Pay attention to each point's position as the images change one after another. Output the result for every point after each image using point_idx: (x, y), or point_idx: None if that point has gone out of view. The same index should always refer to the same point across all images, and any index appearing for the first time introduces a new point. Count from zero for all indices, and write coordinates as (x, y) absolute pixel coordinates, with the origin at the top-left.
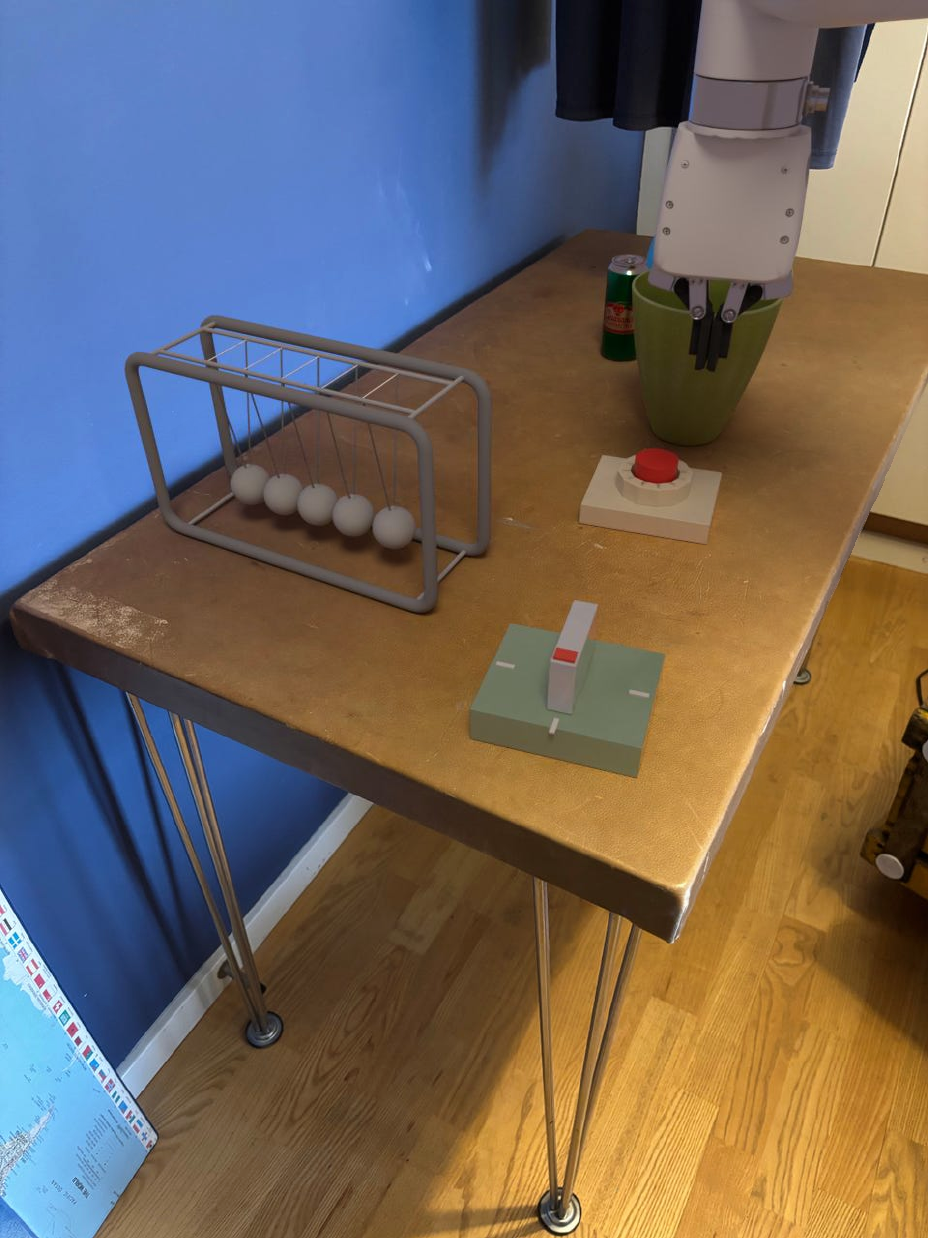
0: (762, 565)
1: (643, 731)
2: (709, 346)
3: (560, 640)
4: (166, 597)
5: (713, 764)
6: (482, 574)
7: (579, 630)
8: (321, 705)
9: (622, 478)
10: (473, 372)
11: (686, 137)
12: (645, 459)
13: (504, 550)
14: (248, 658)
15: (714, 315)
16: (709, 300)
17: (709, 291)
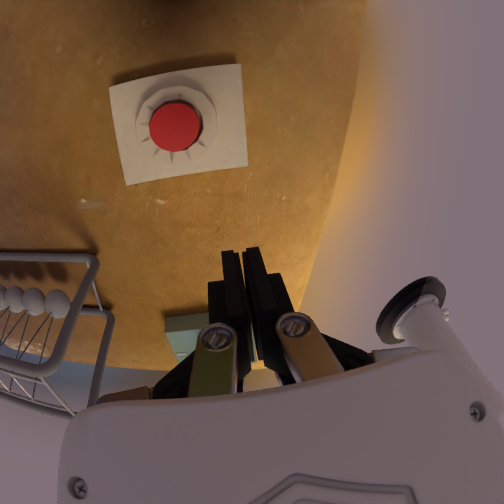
0: (294, 171)
1: (255, 357)
2: (252, 329)
3: None
4: (26, 333)
5: None
6: (109, 268)
7: None
8: (121, 360)
9: (148, 155)
10: (41, 376)
11: None
12: (162, 135)
13: (103, 239)
14: (79, 351)
15: (248, 305)
16: (239, 352)
17: (237, 365)
